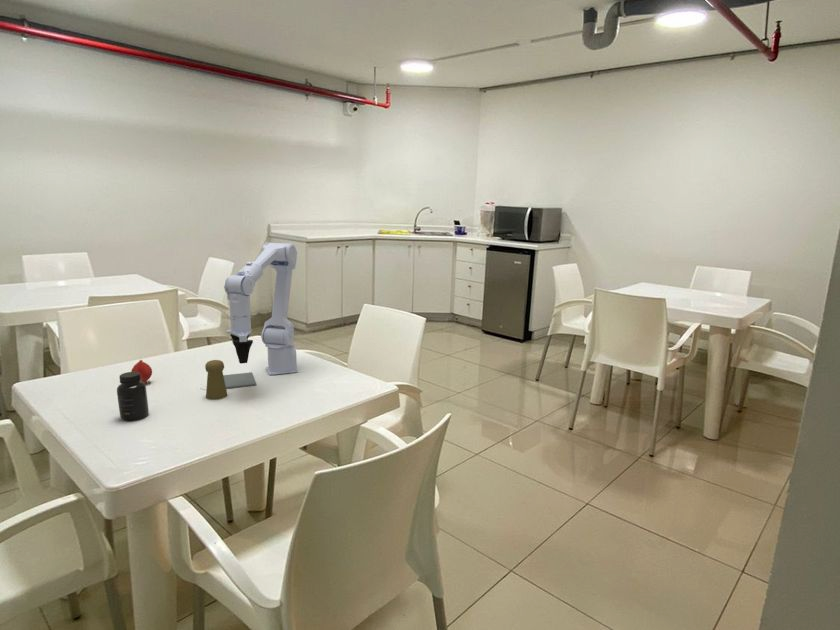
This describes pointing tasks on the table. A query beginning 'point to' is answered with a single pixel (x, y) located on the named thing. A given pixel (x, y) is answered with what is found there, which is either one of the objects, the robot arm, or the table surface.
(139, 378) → the supplement bottle
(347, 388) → the table surface
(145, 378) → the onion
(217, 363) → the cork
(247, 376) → the placemat
